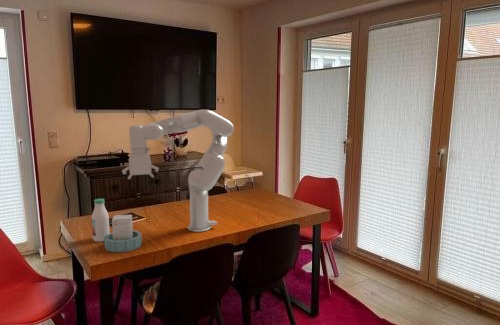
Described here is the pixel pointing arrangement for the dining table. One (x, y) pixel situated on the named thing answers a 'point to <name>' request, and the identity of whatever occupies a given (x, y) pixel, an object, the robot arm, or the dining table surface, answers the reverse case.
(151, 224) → the dining table surface
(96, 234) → the milk bottle
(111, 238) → the bowl
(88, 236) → the dining table surface
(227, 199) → the dining table surface
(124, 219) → the small box
